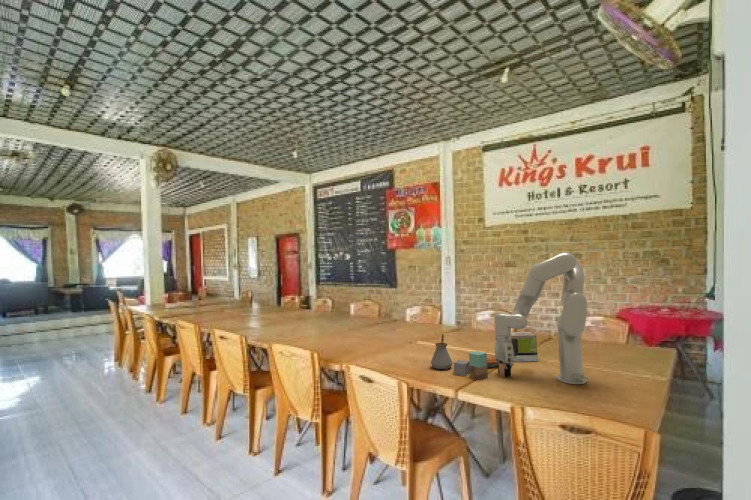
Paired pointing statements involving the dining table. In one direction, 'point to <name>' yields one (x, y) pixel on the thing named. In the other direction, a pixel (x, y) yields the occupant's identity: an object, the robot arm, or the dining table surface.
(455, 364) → the block
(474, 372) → the block
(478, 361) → the tower top
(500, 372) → the pink rounded piece
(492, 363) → the pie
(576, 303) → the robot arm
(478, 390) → the dining table surface
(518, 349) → the tea box
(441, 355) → the coffee pot
